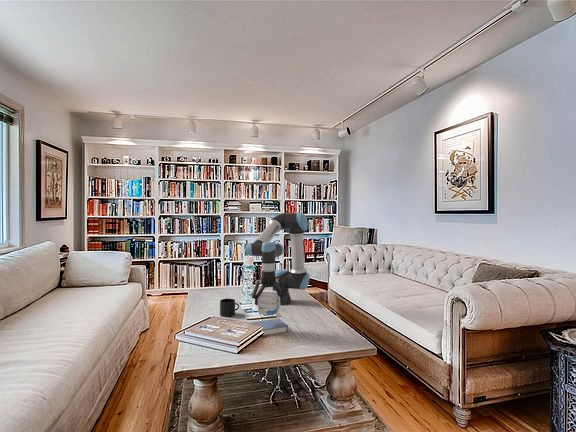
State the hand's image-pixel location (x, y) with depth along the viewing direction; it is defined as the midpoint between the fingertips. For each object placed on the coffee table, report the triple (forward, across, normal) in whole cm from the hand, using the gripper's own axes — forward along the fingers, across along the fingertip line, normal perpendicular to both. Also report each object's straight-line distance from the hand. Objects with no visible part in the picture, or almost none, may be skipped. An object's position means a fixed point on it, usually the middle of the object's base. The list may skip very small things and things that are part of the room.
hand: (268, 309), depth 177 cm
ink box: (+2, 0, 0) cm, 2 cm away
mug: (+12, +14, -34) cm, 39 cm away
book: (+12, 0, 0) cm, 12 cm away
